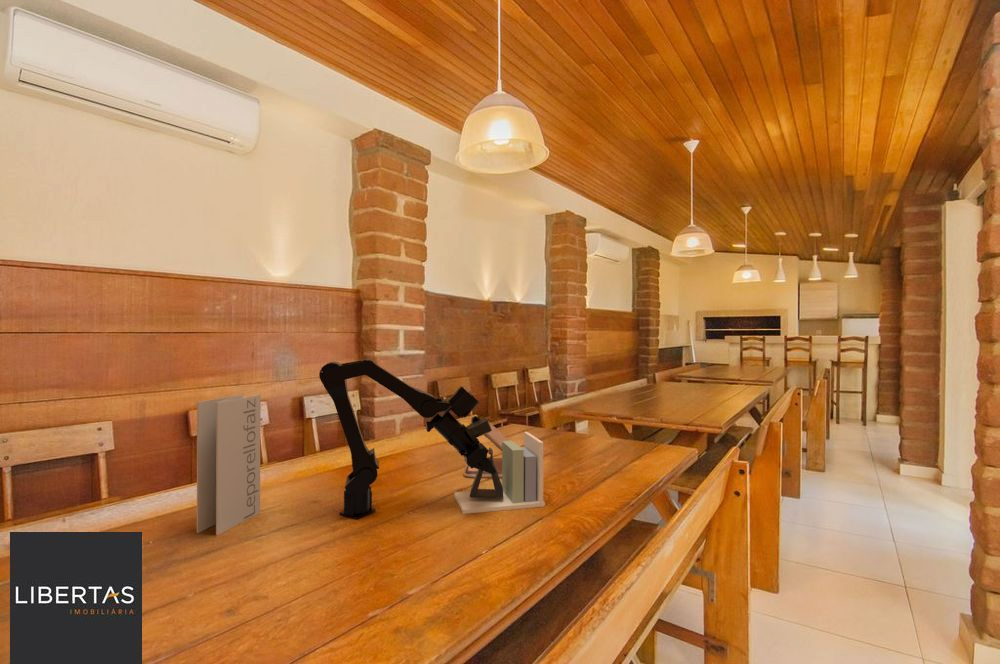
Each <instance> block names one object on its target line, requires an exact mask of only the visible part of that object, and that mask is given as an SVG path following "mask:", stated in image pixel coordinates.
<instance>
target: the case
mask: <svg viewBox="0 0 1000 664" xmlns="http://www.w3.org/2000/svg"><path fill="white" fill-rule="evenodd" d="M488 422H489V425H490V427H491V429H492V431H490V432H489V433H485V434H483V435H482V436H484V437H485V438H487V439H488V440H489V441H490V442H491V443H492V444H493V445H494V446H496V447H497V448H498V449H499V450H500V452H502V441H511V440H510V439H509V438H507V436H506V435H504V433H502V432H501V430H499V429H497V427H495V425H493V423H491V422H490V421H488ZM493 461H494V464H495V467H496V470H497V473H498V476H499V479H502V457H493ZM477 471H478V469H476V468H470V467H469V466H468V465H467V463H466V464H465V468H464V470H463V474H462V475H463V477H465V478H469V479H472V478H474V479H475V476H476V474H477ZM481 479H492V476H491V473H488V472H485V471H483V473H482V477H481Z"/></svg>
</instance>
